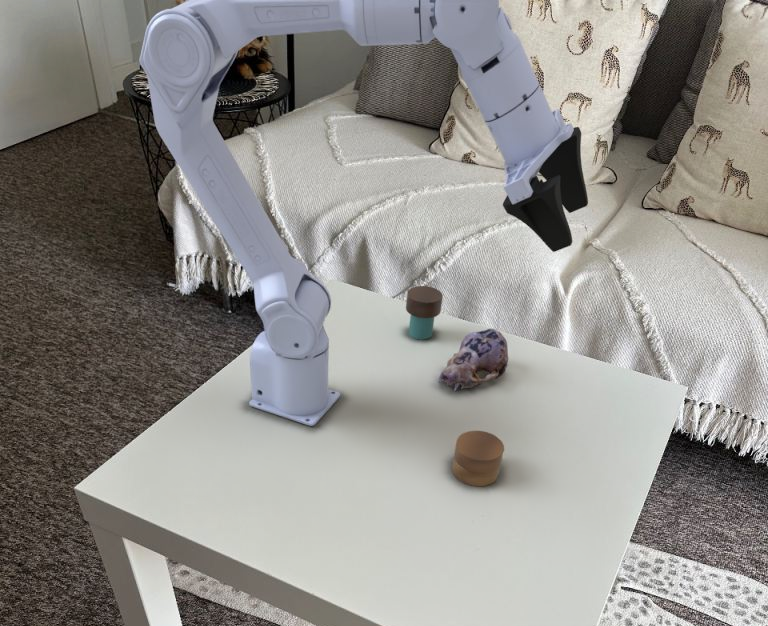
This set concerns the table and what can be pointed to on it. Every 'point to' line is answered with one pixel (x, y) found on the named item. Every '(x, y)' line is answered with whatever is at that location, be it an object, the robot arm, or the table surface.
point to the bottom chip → (474, 476)
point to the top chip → (479, 451)
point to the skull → (477, 359)
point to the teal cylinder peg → (421, 327)
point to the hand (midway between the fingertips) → (571, 227)
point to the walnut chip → (424, 302)
